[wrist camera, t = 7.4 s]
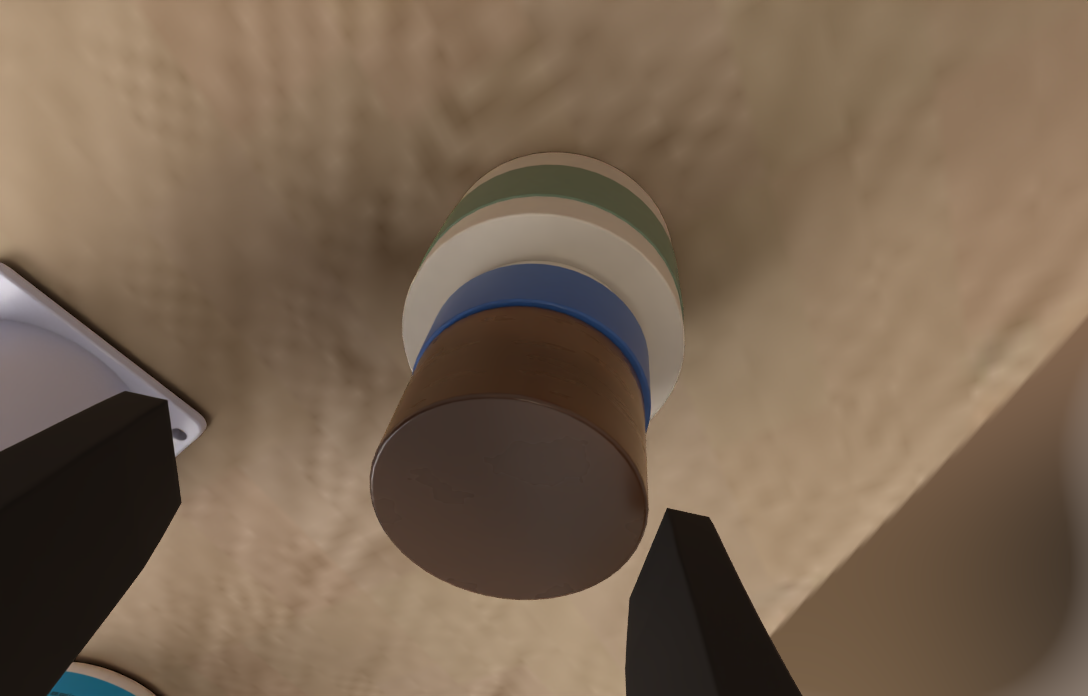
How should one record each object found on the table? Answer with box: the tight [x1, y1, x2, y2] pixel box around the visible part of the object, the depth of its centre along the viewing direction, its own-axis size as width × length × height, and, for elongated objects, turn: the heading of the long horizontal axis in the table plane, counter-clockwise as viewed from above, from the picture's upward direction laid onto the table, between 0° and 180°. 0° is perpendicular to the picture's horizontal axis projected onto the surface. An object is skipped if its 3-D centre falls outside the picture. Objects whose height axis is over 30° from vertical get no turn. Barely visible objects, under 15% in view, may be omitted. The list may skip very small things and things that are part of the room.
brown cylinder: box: [370, 306, 649, 600], centre depth 12 cm, size 5×5×3 cm
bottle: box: [402, 152, 685, 432], centre depth 16 cm, size 6×6×7 cm
